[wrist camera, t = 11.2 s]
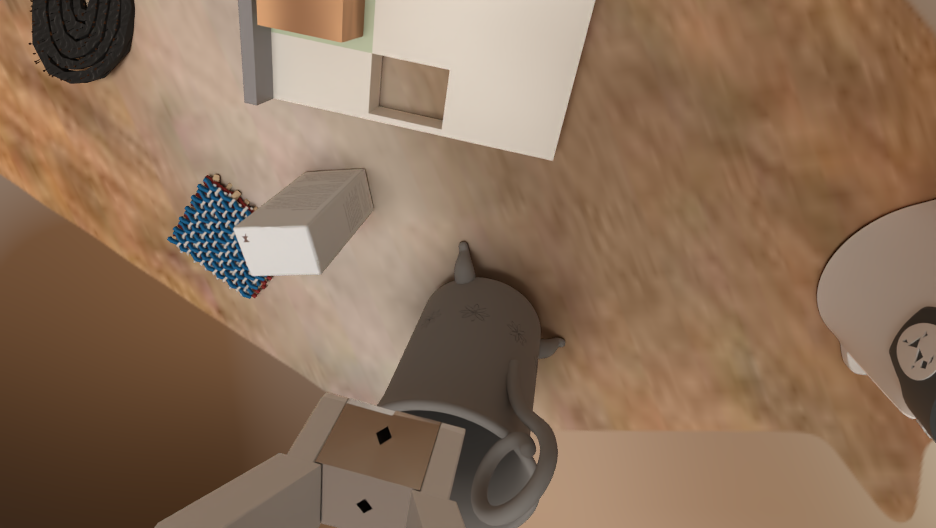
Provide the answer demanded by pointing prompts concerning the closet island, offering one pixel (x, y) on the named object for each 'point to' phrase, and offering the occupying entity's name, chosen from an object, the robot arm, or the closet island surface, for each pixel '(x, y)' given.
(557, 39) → the trap deck
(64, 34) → the hairbrush
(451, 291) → the mug
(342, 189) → the skincare box
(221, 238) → the woven mat
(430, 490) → the robot arm
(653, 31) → the closet island surface
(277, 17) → the block
